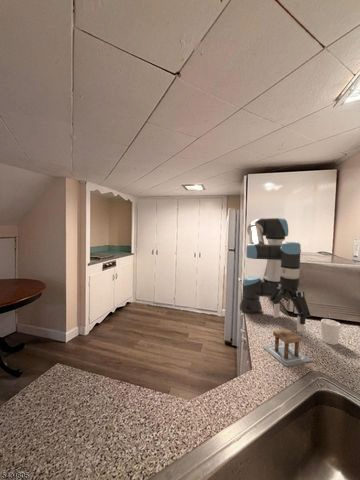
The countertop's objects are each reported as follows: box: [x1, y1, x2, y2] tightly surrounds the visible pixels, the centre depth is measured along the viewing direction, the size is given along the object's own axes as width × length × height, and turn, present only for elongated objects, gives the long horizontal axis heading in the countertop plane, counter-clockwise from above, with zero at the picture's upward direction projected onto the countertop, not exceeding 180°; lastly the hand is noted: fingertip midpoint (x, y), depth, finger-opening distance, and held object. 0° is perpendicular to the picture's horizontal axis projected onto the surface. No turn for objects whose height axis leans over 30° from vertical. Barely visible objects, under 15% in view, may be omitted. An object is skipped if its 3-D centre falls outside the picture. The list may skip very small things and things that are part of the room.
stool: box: [272, 328, 303, 359], centre depth 91 cm, size 8×8×9 cm
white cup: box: [320, 318, 341, 346], centre depth 103 cm, size 8×8×10 cm
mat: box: [262, 342, 313, 367], centre depth 92 cm, size 14×14×1 cm
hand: (287, 323), depth 92 cm, fingers open, 13 cm apart
